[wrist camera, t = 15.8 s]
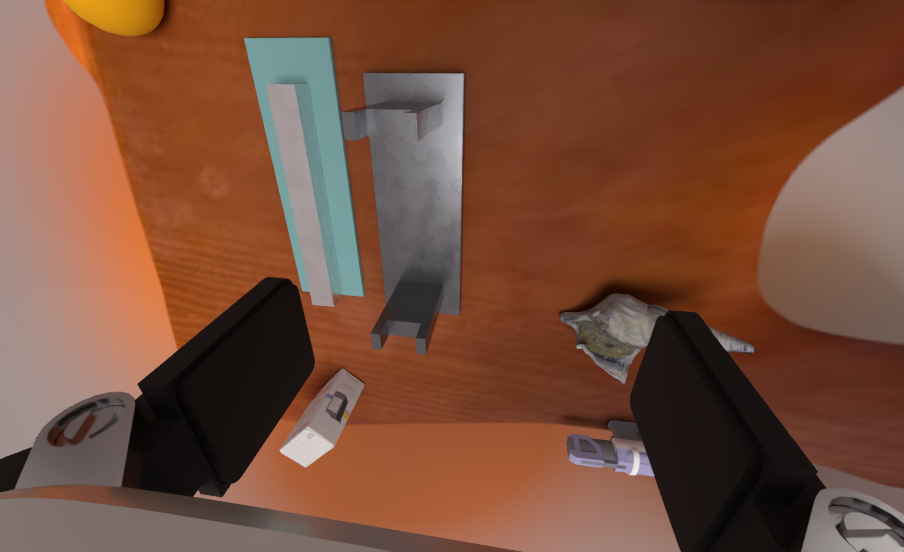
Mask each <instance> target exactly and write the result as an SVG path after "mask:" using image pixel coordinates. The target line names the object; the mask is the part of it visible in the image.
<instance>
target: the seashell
mask: <svg viewBox="0 0 904 552" xmlns="http://www.w3.org/2000/svg"><path fill="white" fill-rule="evenodd" d="M667 311H670V310H668V309H667V308H665V307H662V306H659V305H653V304H646V303H644V302H641V301H640V300H638V299H636V298H634V297H633V296H631V295H629V294H618V293H615V294H611V295H609V296H608V297H606V298H605V299H604V300H603V301H602V302H600V303H599V304H597V305H596V306H595V307H593V308H591V309H589V310H585V311H582V312H575V313H573V312H563V314H561V317H560V320H561V321H562V322H563V323H566V324H568V325H571V326H572V327H573V328H574V329H575V331H576V333H577V344H576V346H577V349H581V348H582V349H583V350H584V351H585V353H587V354H589V355H590V356H591V357H592V359H593V360H594V362H595V363H596V364H597V365H598V366H600V367H601V368H603V369H604V370H606V372H607V373H609V374H611V375H612V376H613V377H614V378H617V379H619V380H620V381H621V382H622V383H623V384H625V381H626V377H627V374H628V366H629V365H630V364H631V362H632V360H633V358H634V357H635V356H636V355H637V354H638V352H639V351H640V350H641V348H644V347H645V346H647V345H648V342H649V340H650V337H651V334H652V331H653V328H654V325H655V322H656V320H657V318H658V317H659V316H664V315H665V314H666V312H667ZM708 327H709V329H710V330H711V331H712V333H713V334H714V335H715V337H716V338H717V339H718V341H719V342H720V343H721V345H722V346H723V347H724V348H725V350H726V351H728V352H739V353H748V354H753V353H754V351H755V349H756V348H755V347H754V346H752V345H750V344H748V343H747V342H744V341H742V340H740V339H737V338H734V337H732V336H730V335H729V334H727V333H724V332H720V331H717V330H716V329H714V328H712V327H710V326H708Z"/></svg>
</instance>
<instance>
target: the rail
mask: <svg viewBox="0 0 904 552" xmlns="http://www.w3.org/2000/svg"><path fill="white" fill-rule="evenodd" d="M266 88H267V92H268V97H269V102H270V107H271V111H272V116H273V121H274V125H275V130H276V135H277V140H278V144H279V149H280V154H281V158H282V163H283V168H284V172H285V177H286V182H287V187H288V191H289V196H290V201H291V205H292V210H293V215H294V219H295V224H296V229H297V234H298V238H299V243H300V248H301V252H302V257H303V262H304V266H305V271H306V276H307V281H308V285H309V290H310V295H311V299H312V304H313V305H322V306H332V307H334V306H335V305H336V303H337V302H338V301H339V299H340V298H341V297H342V296H343V290H342V284H341V278H340V272H339V266H338V259H337V253H336V247H335V241H334V234H333V228H332V222H331V216H330V210H329V203H328V197H327V191H326V185H325V178H324V172H323V166H322V160H321V154H320V147H319V141H318V135H317V129H316V122H315V116H314V110H313V104H312V98H311V91H310V85H309V84H297V83H277V84H266Z"/></svg>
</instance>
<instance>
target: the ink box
mask: <svg viewBox="0 0 904 552" xmlns="http://www.w3.org/2000/svg"><path fill="white" fill-rule="evenodd" d="M364 386H365V385H364V384H363V383H362V382H361V381H360V380H358V379H357V378H355V377H354V376H353V375H351V374H350V373H349V372H347V371H346V370H345V369H343V368H342V369H341V370H340V371H339V372H338V373H337V374H336V375H335V376H334V377H332V378H331V379H330V380H329V381H328V382H327V383H326V384H325V385H324V386H323V387H322V388H321V389H320V390H319V391H318V392H317V394H316V395H315V397H314V398H313V399H312V401H311V403H310V404H309V406H308V407H307V409H306V410H305V412H304V413H303V415H302V416H301V418H300V419H299V421H298V422H297V424H296V426H295V427H294V429H293V430H292V432H291V433H290V435H289V436H288V438H287V439H286V441H285V442H284V444H283V445H282V447H281V448H280V450H279V451H280V452H281V453H282V454H284V455H286V456H287V457H289V458H291V459H293V460H294V461H296V462H298V463H299V464H301V465H302V466H304V467H307V466H308V465H310V464H311V463H313V462H314V461H315V460H317V459H318V458H319V457H321V456H322V455H323V454H324V453H326V452H327V451H329V450H330V449H332V447H334V446H335V444H336V442H337V440H338V438H339V436H340V434H341V432H342V430H343V428H344V426H345V424H346V422H347V420H348V418H349V416H350V414H351V412H352V409H353V408H354V406H355V404H356V402H357V400H358V398H359V396H360V394H361V392H362V390H363V388H364Z"/></svg>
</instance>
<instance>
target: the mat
mask: <svg viewBox="0 0 904 552" xmlns="http://www.w3.org/2000/svg"><path fill="white" fill-rule="evenodd" d="M244 40H245V44H246V49H247V53H248V57H249V62H250V66H251V70H252V75H253V79H254V83H255V88H256V92H257V96H258V101H259V105H260V109H261V114H262V118H263V122H264V127H265V131H266V135H267V140H268V144H269V148H270V153H271V157H272V161H273V166H274V170H275V174H276V179H277V183H278V187H279V192H280V196H281V200H282V205H283V209H284V213H285V218H286V222H287V226H288V231H289V235H290V239H291V244H292V248H293V253H294V257H295V261H296V266H297V270H298V274H299V279H300V283H301V287H302V291H307V292H310V290H309V285H308V281H307V276H306V271H305V266H304V262H303V257H302V252H301V248H300V243H299V238H298V234H297V229H296V224H295V219H294V215H293V210H292V205H291V201H290V196H289V191H288V187H287V182H286V177H285V172H284V168H283V163H282V158H281V154H280V149H279V144H278V140H277V135H276V130H275V125H274V121H273V116H272V111H271V107H270V102H269V97H268V92H267V88H266V84H277V83H297V84H309V85H310V91H311V98H312V104H313V110H314V116H315V122H316V129H317V135H318V141H319V147H320V154H321V160H322V166H323V172H324V178H325V185H326V191H327V197H328V203H329V210H330V216H331V222H332V228H333V234H334V241H335V247H336V253H337V259H338V266H339V272H340V278H341V284H342V290H343V295H353V296H364V295H365V290H364V283H363V275H362V268H361V260H360V253H359V245H358V238H357V230H356V223H355V215H354V207H353V200H352V192H351V185H350V177H349V170H348V162H347V155H346V147H345V139H344V132H343V124H342V117H341V109H340V102H339V94H338V87H337V79H336V72H335V64H334V56H333V49H332V41H331V38H244Z"/></svg>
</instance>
